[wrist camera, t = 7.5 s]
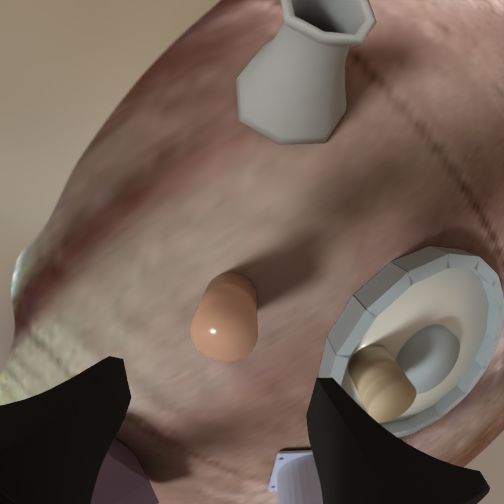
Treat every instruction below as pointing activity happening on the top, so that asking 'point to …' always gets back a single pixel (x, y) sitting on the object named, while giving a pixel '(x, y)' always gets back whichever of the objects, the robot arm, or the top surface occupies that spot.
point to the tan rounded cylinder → (381, 383)
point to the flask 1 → (122, 479)
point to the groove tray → (423, 329)
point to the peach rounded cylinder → (226, 318)
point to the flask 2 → (303, 71)
